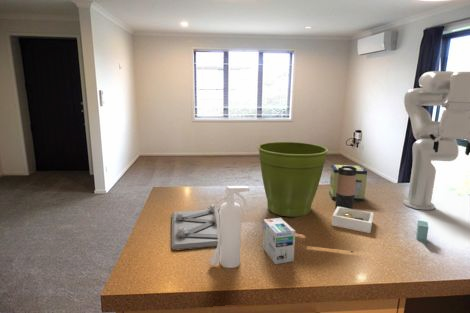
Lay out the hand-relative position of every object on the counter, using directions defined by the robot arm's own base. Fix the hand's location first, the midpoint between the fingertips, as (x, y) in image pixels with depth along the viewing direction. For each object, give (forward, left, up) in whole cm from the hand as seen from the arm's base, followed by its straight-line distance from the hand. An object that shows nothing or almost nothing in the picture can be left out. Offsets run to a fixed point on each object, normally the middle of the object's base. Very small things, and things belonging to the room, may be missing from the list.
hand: (451, 153), depth 115 cm
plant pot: (+11, -58, -31) cm, 66 cm away
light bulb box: (+50, -49, -31) cm, 76 cm away
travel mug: (+1, -36, -31) cm, 47 cm away
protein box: (-19, -38, -31) cm, 52 cm away
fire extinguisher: (+62, -61, -31) cm, 92 cm away
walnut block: (+16, -28, -29) cm, 44 cm away
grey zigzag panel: (+47, -82, -31) cm, 99 cm away
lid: (+15, -13, -31) cm, 37 cm away
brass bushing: (+14, -32, -29) cm, 46 cm away
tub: (+15, -30, -30) cm, 46 cm away
